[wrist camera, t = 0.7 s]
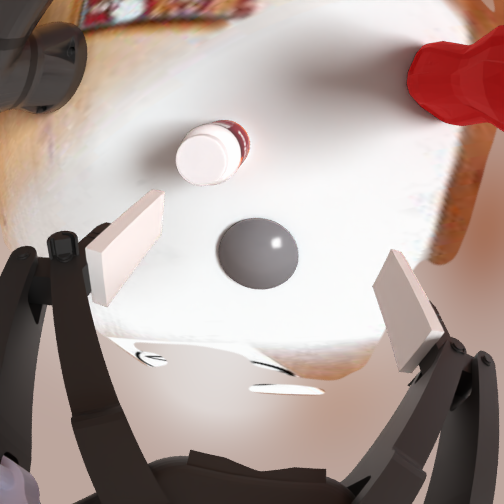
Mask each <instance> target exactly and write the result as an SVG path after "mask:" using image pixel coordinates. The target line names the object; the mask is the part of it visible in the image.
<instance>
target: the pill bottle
mask: <svg viewBox="0 0 504 504" xmlns="http://www.w3.org/2000/svg"><path fill="white" fill-rule="evenodd" d="M249 150H250V140H249V136H248V134H247V132H246V131H245V129H244V128H243V127H242V126H241V125H239V124H238V123H236V122H233V121H229V120H220V121H216V122H212V123H208V124H205V125H201V126H198V127H196V128H194V129H193V130H191V131H190V132H189V133H188V134H187V135H186V136H185V137H184V139H183V141H182V143H181V145H180V147H179V148H178V150H177V153H176V166H177V169H178V171H179V173H180V175H181V176H182V177H183V178H184V179H185V180H186V181H187V182H189V183H191V184H194V185H198V186H206V185H216V184H220V183H222V182H224V181H226V180H228V179H229V178H230V177H231V176H232V175H233V174H234V173H235V172H236V170H237V169H238V168H239V167H240V165H241V164H242V163H243V162H244V160H245V159H246V157H247V155H248V153H249Z"/></svg>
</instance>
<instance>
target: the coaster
mask: <svg viewBox="0 0 504 504" xmlns="http://www.w3.org/2000/svg"><path fill="white" fill-rule="evenodd" d="M219 258H220V262H221V265H222V267H223V269H224V270H225V272H226V273H227V274H228V275H229V277H230V278H232V279H233V280H234V281H236V282H237V283H239V284H241V285H243V286H245V287H248V288H253V289H269V288H273V287H276V286H279V285H281V284H283V283H284V282H285V281H287V280H288V279H289V278H290V277H291V276H292V274H293V273H294V271H295V269H296V267H297V263H298V248H297V244H296V242H295V240H294V238H293V236H292V235H291V234H290V232H289V231H288V230H287V229H285V228H284V227H283V226H282V225H280V224H278V223H276V222H274V221H271V220H268V219H262V218H251V219H246V220H243V221H240V222H238V223H236V224H235V225H233V226H232V227H231V228H230V229H228V231H227V232H226V233H225V235H224V236H223V238H222V240H221V243H220V247H219Z"/></svg>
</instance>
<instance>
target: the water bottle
mask: <svg viewBox="0 0 504 504" xmlns="http://www.w3.org/2000/svg"><path fill="white" fill-rule="evenodd" d="M407 87H408V90H409V94H410V95H411V96H412V97H413V99H414V100H415V101H416V102H417V103H418V104H419V105H420V106H421V107H422V108H424V109H425V110H426V111H428V112H429V113H431V114H432V115H434V116H435V117H436V118H438V119H439V120H441V121H443V122H445V123H448V124H452V125H459V126H466V125H472V124H478V123H485V122H488V123H491V124H493V125H494V126H496V127H497V128H499V129H500V130H502V131H503V132H504V25H501V26H498V27H497V28H495V29H494V30H492V31H491V32H489V33H488V34H487V35H485V36H484V37H482V38H481V39H480V40H478V41H477V42H475V43H474V44H472V45H463V44H458V43H451V42H445V41H441V42H435V43H429V44H426V45H424V46H422V47H421V48H420V50H419V51H418V52H417V53H416V55H415V57H414V60H413V62H412V64H411V67H410V69H409V71H408V77H407Z"/></svg>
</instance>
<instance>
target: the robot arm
mask: <svg viewBox="0 0 504 504" xmlns="http://www.w3.org/2000/svg"><path fill="white" fill-rule="evenodd" d="M52 1H53V0H0V112H2V111H6V110H10V109H16V110H21V111H25V112H30V113H34V114H43V113H47V112H52V111H55V110H57V109H59V108H61V107H62V106H63V105H65V104H66V103H67V102H68V101H69V100H70V99H71V97H72V96H73V95H74V93H75V92H76V90H77V88H78V86H79V84H80V82H81V80H82V77H83V74H84V71H85V66H86V61H87V45H86V40H85V37H84V35H83V33H82V31H81V30H80V29H79V28H78V27H77V26H76V25H74V24H71V23H66V22H52V23H48V24H45V25H41V26H38V27H35V26H36V25H37V23H38V22H39V20H40V19H41V17H42V16H43V14H44V13H45V11H46V10H47V8H48V7H49V5H50V4H51V2H52ZM164 198H165V192H164V191H160V190H155V189H152V190H151V191H150V192H148V193H147V194H146V195H145V196H143V197H142V198H141V199H140V200H139V201H137V202H136V203H135V204H134V205H133V206H131V207H130V208H129V209H128V210H127V211H126V212H124V213H123V214H122V215H121V216H120V217H119V218H117V219H116V220H115V221H114V222H113V223H112V224H111V223H107V222H106V223H103V224H101V225H99V226H97V227H96V228H95V229H93V230H92V231H91V232H90V233H89V234H88V235H87V236H86V237H84V238H83V239H82V240H81V241H80V242H79V243H78V237H77V235H76V234H75V233H73V232H71V231H60V232H56V233H54V234H52V235H51V236H50V237H49V238H48V240H47V246H48V252H49V258H43V257H37V252H36V250H35V248H33V247H31V246H22V247H19V248H17V249H16V250H14V251H13V252H12V254H11V255H10V257H9V259H8V261H7V263H6V265H5V267H4V269H3V272H2V274H1V276H0V504H41V503H40V500H39V496H40V494H39V488H38V485H37V482H36V481H35V478H34V477H33V476H32V475H31V474H30V465H31V449H32V437H31V436H32V434H31V433H32V404H33V390H34V380H35V370H36V363H37V355H38V349H39V343H40V337H41V332H42V326H43V321H44V317H45V312H46V307H47V305H52V307H53V316H54V326H55V333H56V340H57V346H58V353H59V359H60V364H61V369H62V374H63V379H64V384H65V388H66V392H67V396H68V400H69V404H70V408H71V412H72V418H71V424H72V427H73V431H74V434H75V438H76V441H77V444H78V447H79V449H80V452H81V455H82V458H83V461H84V463H85V466H86V468H87V471H88V474H89V476H90V478H91V481H92V483H93V486H94V488H95V490H96V493H94V494H92V495H90V496H88V497H86V498H84V499H82V500H79V501H77V502H75V503H73V504H412V502H413V501H414V499H415V497H416V496H417V494H418V492H419V490H420V489H421V487H422V485H423V483H424V481H425V479H426V473H425V472H424V471H423V470H422V469H423V466H424V465H425V463H426V461H427V459H428V457H429V455H430V453H431V450H432V449H433V446H434V444H435V442H436V440H437V438H438V435H439V433H440V431H441V433H440V439H439V445H438V450H437V455H436V459H435V464H434V468H433V472H432V476H431V480H430V484H429V487H428V491H427V494H426V498H425V501H424V504H493V498H494V491H495V485H496V476H497V466H498V451H499V450H498V449H499V405H498V389H497V378H496V370H495V363H494V361H493V359H492V357H491V356H490V355H489V354H488V353H486V352H484V351H479V352H478V353H477V354H476V356H475V357H472V356H470V355H468V354H466V349H465V347H464V345H463V344H462V343H461V342H460V341H459V340H457V339H455V338H452V337H450V335H449V333H448V331H447V329H446V327H445V325H444V323H443V321H442V319H441V317H440V316H439V313H438V311H437V309H436V307H435V306H434V305H433V304H432V303H431V301H429V300H428V298H427V296H426V294H425V292H424V290H423V288H422V287H421V285H420V283H419V281H418V280H417V278H416V276H415V274H414V272H413V270H412V269H411V267H410V265H409V263H408V262H407V260H406V258H405V257H404V255H403V253H402V252H400V251H396V250H393V249H391V250H390V253H389V255H388V257H387V259H386V261H385V263H384V265H383V267H382V269H381V271H380V273H379V275H378V277H377V279H376V281H375V283H374V284H373V286H372V287H373V289H374V292H375V295H376V298H377V301H378V304H379V307H380V310H381V313H382V316H383V319H384V322H385V325H386V329H387V332H388V335H389V338H390V342H391V345H392V348H393V352H394V356H395V359H396V363H397V366H398V370H399V372H406V373H412V372H413V371H414V369H415V368H416V367H417V366H418V365H419V366H420V370H421V371H420V372H419V373H418V375H417V376H416V377H415V378H414V379H413V380H412V381H411V382H410V383H409V384H408V386H410V385H411V386H410V388H409V390H408V391H407V393H406V395H405V397H404V398H403V400H402V402H401V403H400V405H399V406H398V408H397V410H396V411H395V413H394V415H393V416H392V417H391V419H390V421H389V422H388V423H387V425H386V426H385V428H384V429H383V431H382V432H381V434H380V435H379V437H378V438H377V439H376V441H375V442H374V444H373V445H372V446H371V448H370V449H369V451H368V452H367V453H366V454H365V456H364V457H363V458H362V459H361V461H360V462H359V463H358V465H357V466H356V467H355V468H354V469H353V471H352V472H351V473H350V474H349V475H348V476H347V477H346V478H345V479H344V480H343V481H342V482H338V481H336V480H334V479H331V478H329V477H326V469H312V468H297V467H296V468H295V467H294V468H288V469H280V470H272V471H256V470H254V469H251V468H249V467H246V466H244V465H241V464H239V463H236V462H234V461H232V460H229V459H227V458H224V457H219V456H215V455H210V454H205V453H201V452H197V451H193V450H190V453H189V456H174V457H168V458H163V459H160V460H156V461H154V462H151V463H149V464H147V462H146V460H145V458H144V456H143V454H142V452H141V450H140V448H139V446H138V443H137V442H136V439H135V437H134V435H133V433H132V430H131V428H130V426H129V423H128V421H127V419H126V417H125V414H124V412H123V409H122V407H121V405H120V403H119V401H118V398H117V396H116V393H115V390H114V387H113V385H112V382H111V379H110V376H109V373H108V370H107V367H106V364H105V361H104V358H103V354H102V351H101V348H100V344H99V341H98V337H97V334H96V330H95V326H94V322H93V318H92V314H91V310H90V306H89V302H88V297H87V296H88V295H89V294H90V293H91V294H92V300H93V302H94V303H97V304H100V305H102V306H105V307H108V306H109V304H110V303H111V302H112V300H113V299H114V297H115V296H116V295H117V293H118V292H119V290H120V289H121V288H122V286H123V285H124V283H125V282H126V281H127V279H128V278H129V277H130V275H131V274H132V273H133V271H134V270H135V269H136V267H137V266H138V265H139V263H140V262H141V261H142V259H143V258H144V257H145V255H146V254H147V253H148V252H149V250H150V249H151V248H152V246H153V245H154V244H155V243H156V241H157V240H158V239H159V238H160V236H161V235H162V221H163V209H164Z"/></svg>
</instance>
